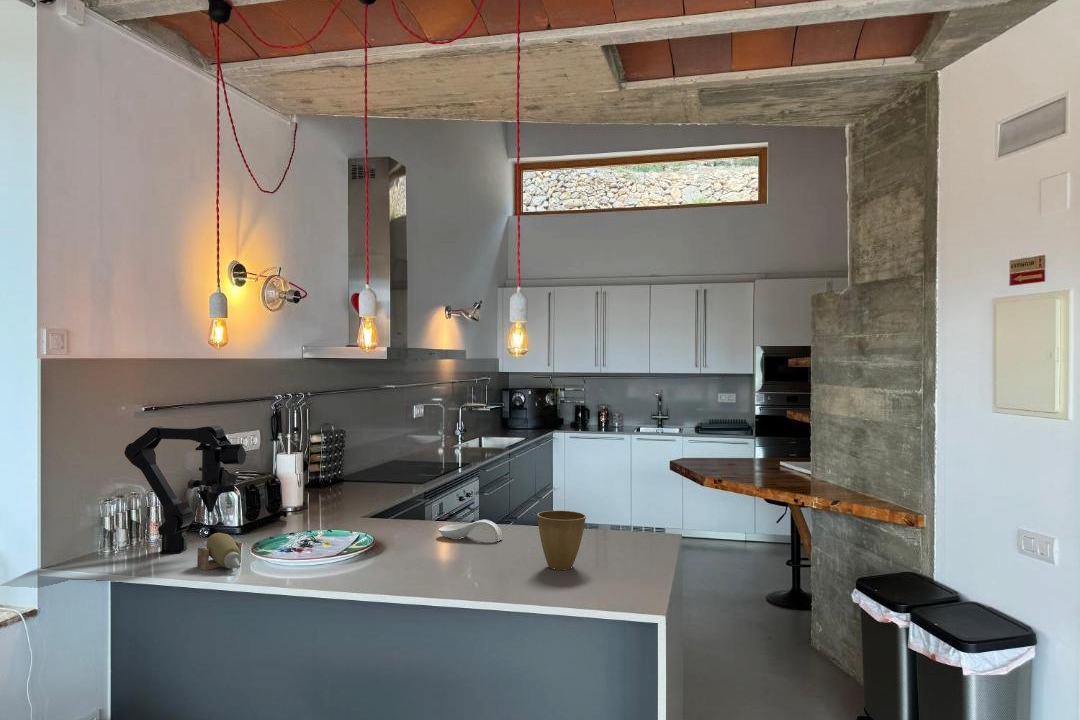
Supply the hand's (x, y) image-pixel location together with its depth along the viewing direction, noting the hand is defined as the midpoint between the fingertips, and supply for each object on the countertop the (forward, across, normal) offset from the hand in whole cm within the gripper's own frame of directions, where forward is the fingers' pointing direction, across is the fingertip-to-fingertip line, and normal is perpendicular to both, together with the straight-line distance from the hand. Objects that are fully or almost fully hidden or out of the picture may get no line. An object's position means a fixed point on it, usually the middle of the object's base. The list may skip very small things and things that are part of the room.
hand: (210, 512), depth 232 cm
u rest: (+13, -17, +6) cm, 22 cm away
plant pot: (+13, -100, -56) cm, 116 cm away
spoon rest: (+14, -54, -67) cm, 87 cm away
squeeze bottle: (+6, -13, +6) cm, 16 cm away
